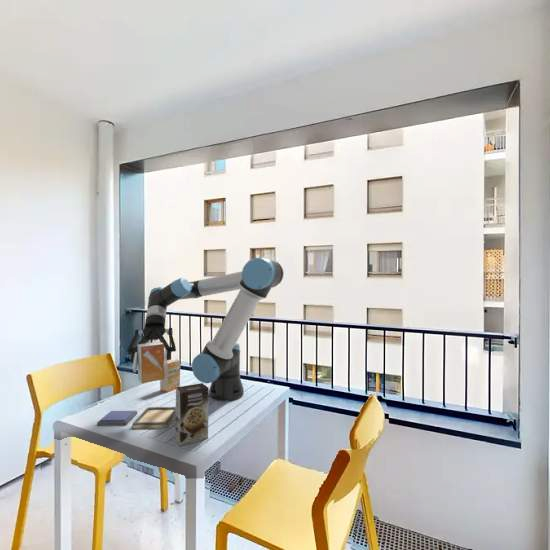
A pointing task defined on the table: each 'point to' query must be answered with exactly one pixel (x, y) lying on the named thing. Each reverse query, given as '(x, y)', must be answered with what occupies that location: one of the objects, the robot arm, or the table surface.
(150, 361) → the small box
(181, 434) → the coffee box
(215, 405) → the table surface
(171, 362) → the supplement box
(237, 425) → the table surface
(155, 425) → the board
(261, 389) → the table surface
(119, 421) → the ink pad
